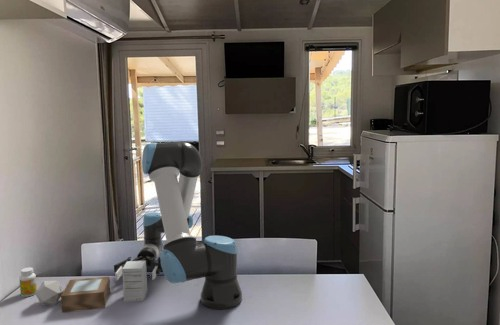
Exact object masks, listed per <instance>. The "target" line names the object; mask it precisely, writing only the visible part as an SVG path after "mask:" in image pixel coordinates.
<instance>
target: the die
mask: <svg viewBox="0 0 500 325" xmlns="http://www.w3.org/2000/svg"><path fill="white" fill-rule="evenodd" d="M64 290H65V289H63V287H62V285H61V284H60V282H59V280H43V282H42V283H41V284H40V285H39V287H38V288H37V291H36V292H35V294H34V296H36V298H37V299H38V301H39V303H40V305H57V303H58V301H59V300H61V295H62V293H63V292H64Z"/></svg>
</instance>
